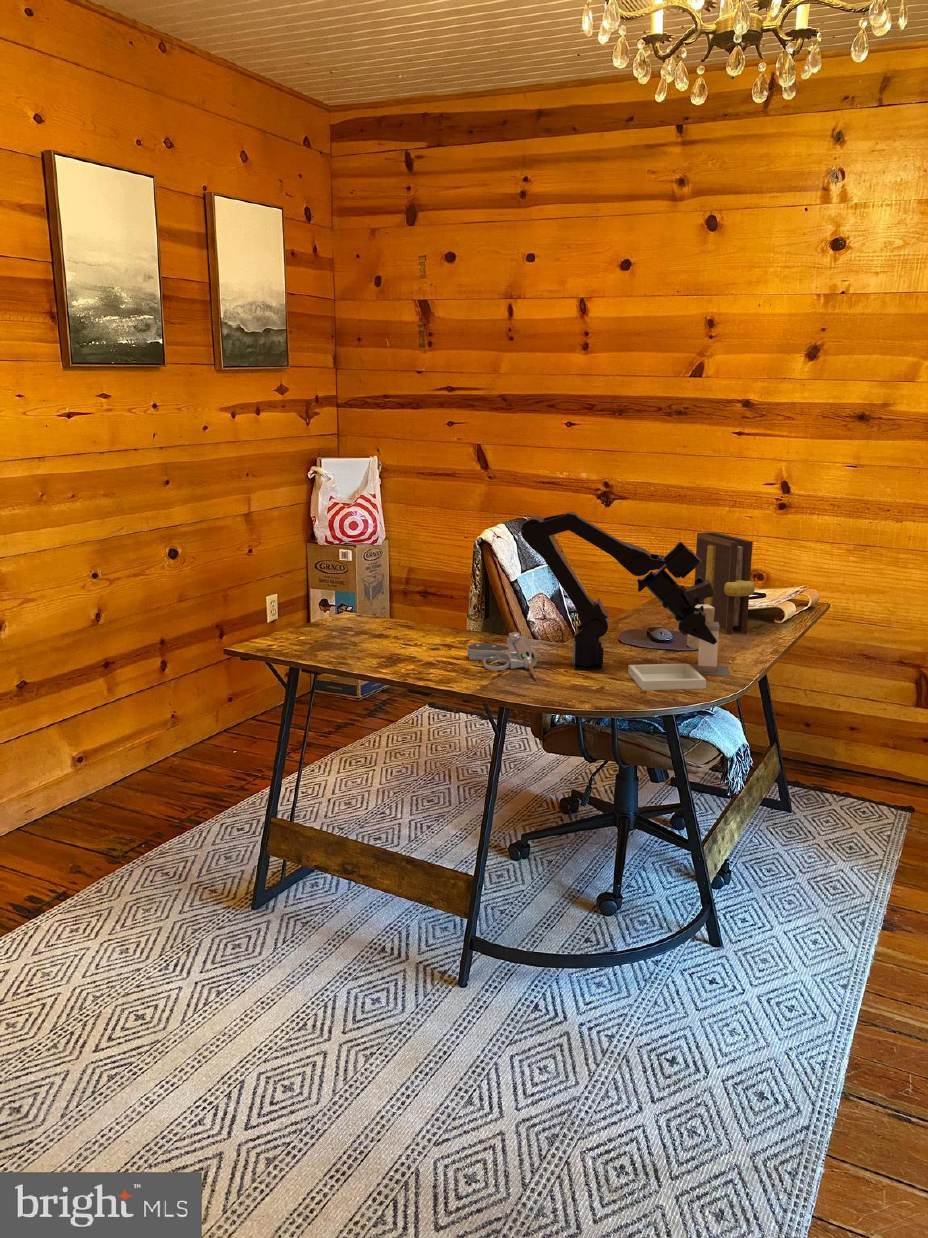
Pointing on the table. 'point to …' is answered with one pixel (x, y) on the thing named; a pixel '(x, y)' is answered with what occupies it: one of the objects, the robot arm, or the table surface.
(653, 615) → the table surface
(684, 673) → the parts tray
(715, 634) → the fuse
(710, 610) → the box
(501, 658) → the toy pistol
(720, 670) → the holder plate
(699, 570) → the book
